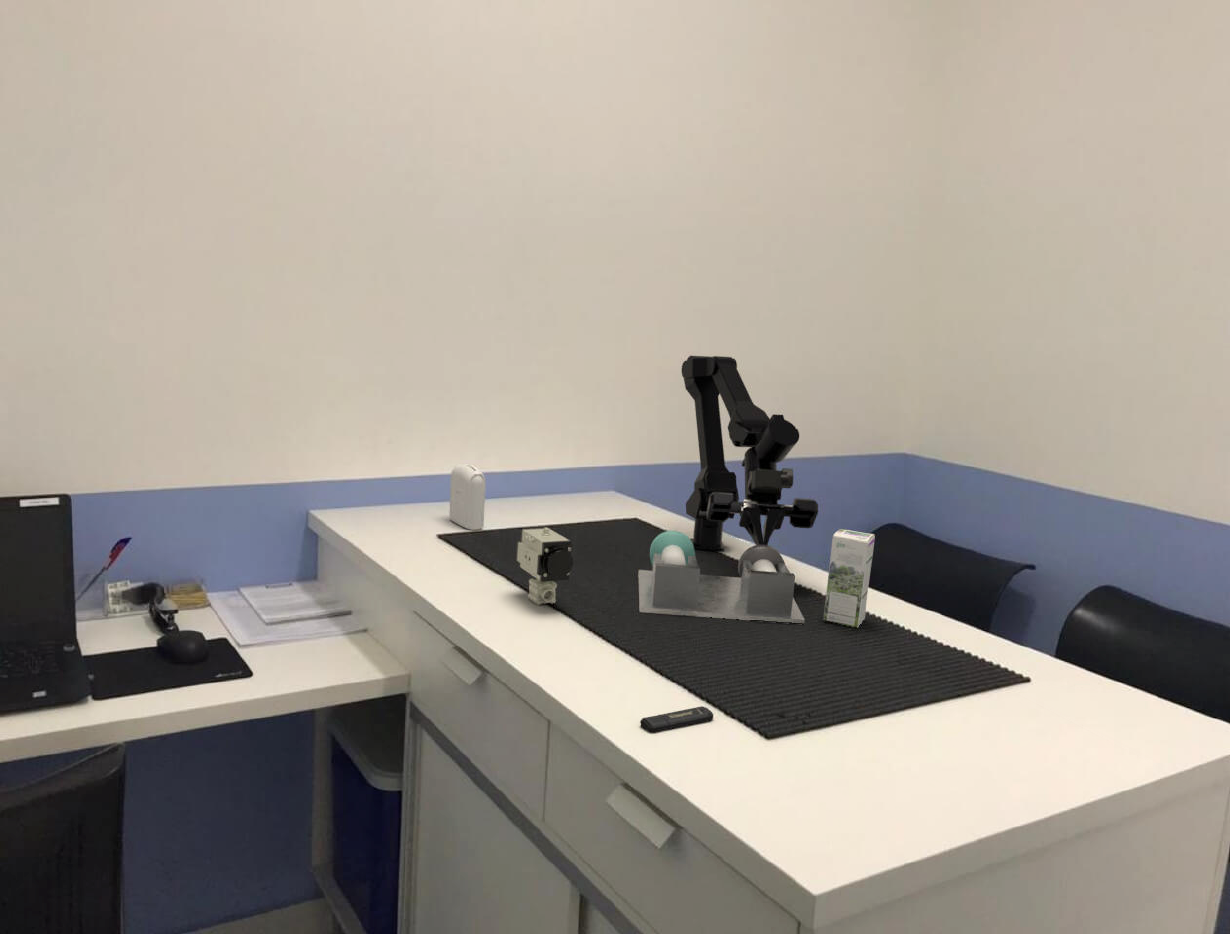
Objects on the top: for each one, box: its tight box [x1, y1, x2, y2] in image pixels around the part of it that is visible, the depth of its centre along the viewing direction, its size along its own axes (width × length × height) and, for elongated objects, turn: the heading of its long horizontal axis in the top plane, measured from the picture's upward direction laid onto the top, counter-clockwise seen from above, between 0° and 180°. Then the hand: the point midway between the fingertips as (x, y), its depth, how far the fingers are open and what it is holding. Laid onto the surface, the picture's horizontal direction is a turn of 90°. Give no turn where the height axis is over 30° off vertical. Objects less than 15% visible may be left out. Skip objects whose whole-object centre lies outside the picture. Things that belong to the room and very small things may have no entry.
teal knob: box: [649, 530, 696, 567], centre depth 175 cm, size 11×8×8 cm
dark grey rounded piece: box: [737, 544, 786, 578], centre depth 170 cm, size 11×8×8 cm
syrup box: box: [823, 528, 876, 629], centre depth 165 cm, size 6×6×14 cm
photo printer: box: [449, 463, 486, 531], centre depth 209 cm, size 10×4×12 cm, turn 32°
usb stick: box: [639, 706, 714, 734], centre depth 123 cm, size 10×3×2 cm, turn 122°
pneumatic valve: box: [515, 527, 574, 606], centre depth 163 cm, size 6×12×12 cm, turn 29°
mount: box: [637, 553, 806, 624], centre depth 173 cm, size 22×26×7 cm
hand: (762, 552), depth 176 cm, fingers closed, pressing on dark grey rounded piece
